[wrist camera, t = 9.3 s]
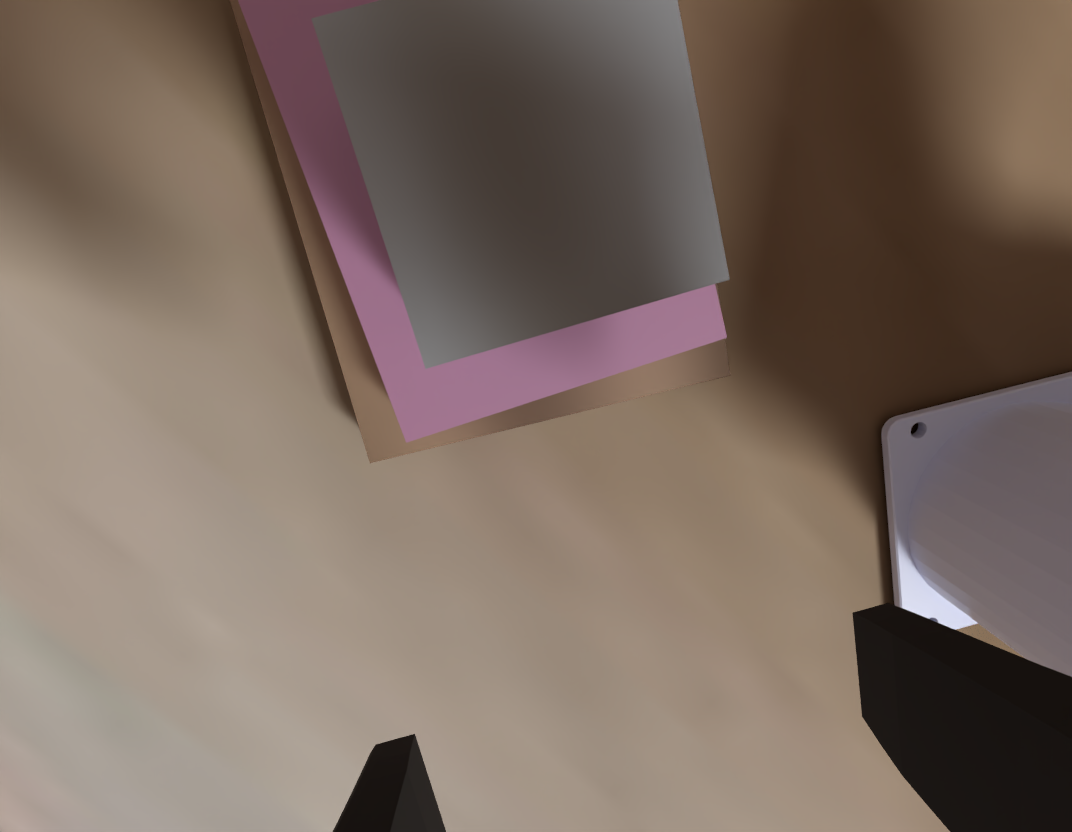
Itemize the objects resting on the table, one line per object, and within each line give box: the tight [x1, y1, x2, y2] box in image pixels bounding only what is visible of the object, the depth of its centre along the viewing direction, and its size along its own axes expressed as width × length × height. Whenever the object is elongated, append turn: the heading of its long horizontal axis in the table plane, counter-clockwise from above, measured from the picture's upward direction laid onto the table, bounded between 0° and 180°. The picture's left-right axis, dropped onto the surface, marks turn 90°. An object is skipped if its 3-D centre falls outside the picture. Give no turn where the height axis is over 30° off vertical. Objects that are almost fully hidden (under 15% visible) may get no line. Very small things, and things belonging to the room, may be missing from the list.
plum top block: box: [238, 0, 727, 443], centre depth 16 cm, size 8×10×2 cm
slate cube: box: [311, 0, 730, 369], centre depth 12 cm, size 5×5×5 cm
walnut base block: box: [230, 0, 730, 463], centre depth 18 cm, size 10×12×2 cm
